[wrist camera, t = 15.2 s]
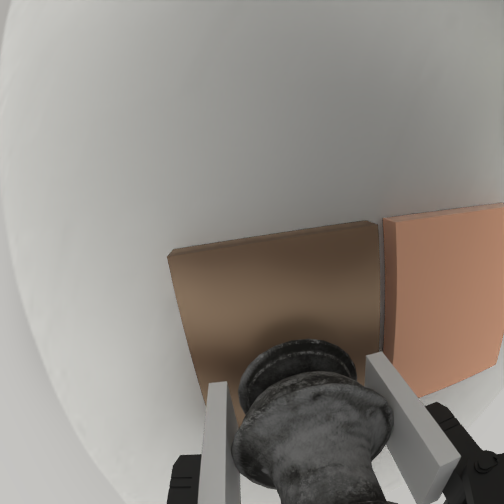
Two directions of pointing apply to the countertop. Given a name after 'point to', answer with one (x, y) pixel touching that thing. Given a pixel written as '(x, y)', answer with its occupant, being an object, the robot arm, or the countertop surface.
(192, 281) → the shorter pad
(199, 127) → the countertop surface
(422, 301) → the taller pad
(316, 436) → the dark chess piece
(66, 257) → the countertop surface
